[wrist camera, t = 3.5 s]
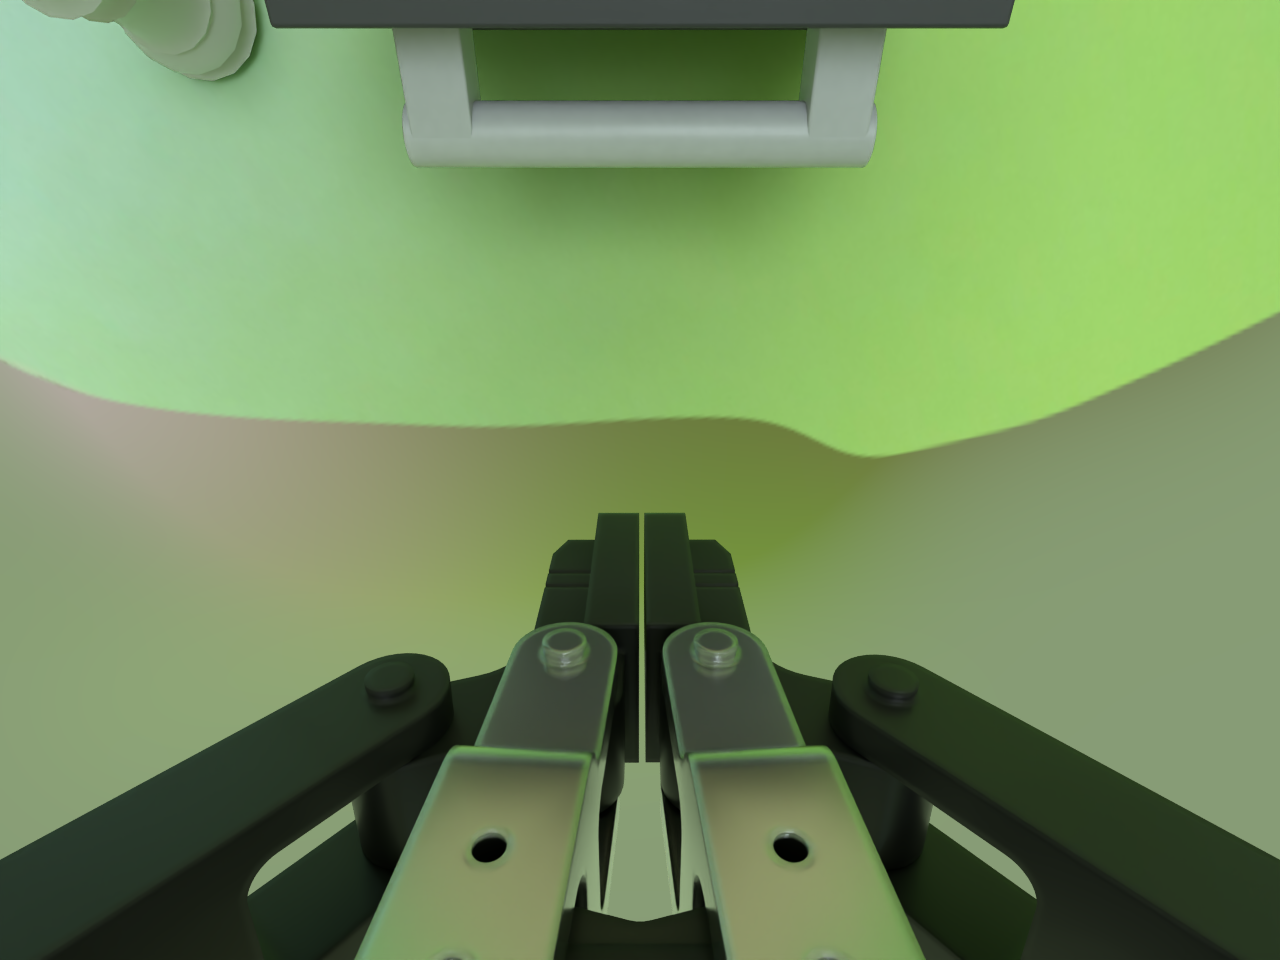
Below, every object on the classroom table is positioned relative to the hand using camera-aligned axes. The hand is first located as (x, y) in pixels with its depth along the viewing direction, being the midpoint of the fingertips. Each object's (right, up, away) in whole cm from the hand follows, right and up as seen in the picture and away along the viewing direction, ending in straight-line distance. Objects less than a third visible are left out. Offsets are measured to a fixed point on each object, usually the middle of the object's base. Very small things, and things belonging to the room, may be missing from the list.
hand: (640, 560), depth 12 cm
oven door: (0, +18, +13) cm, 22 cm away
